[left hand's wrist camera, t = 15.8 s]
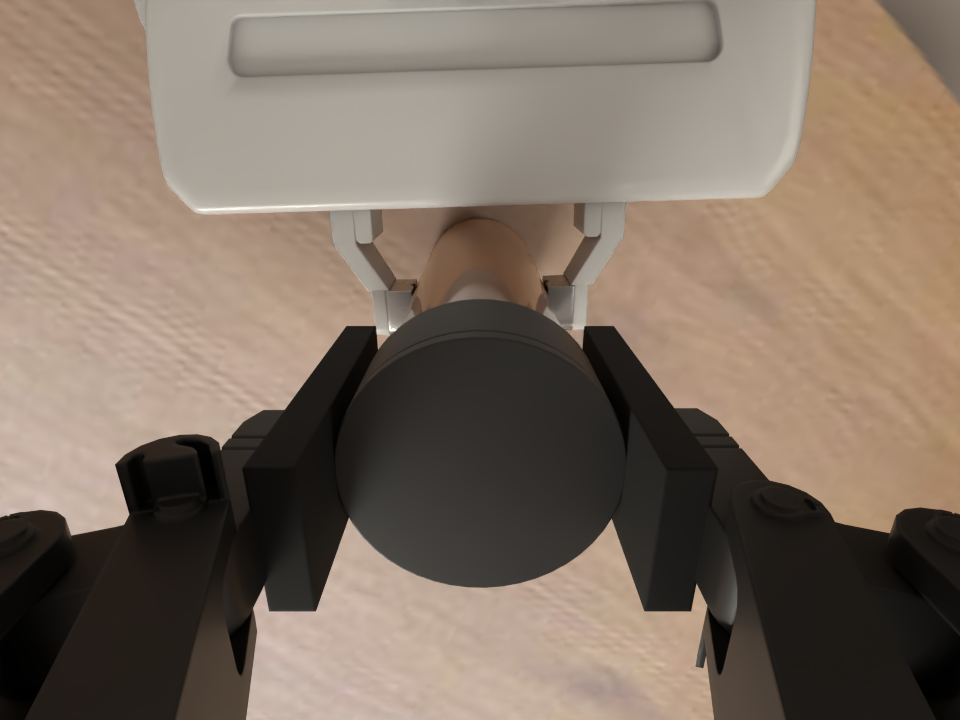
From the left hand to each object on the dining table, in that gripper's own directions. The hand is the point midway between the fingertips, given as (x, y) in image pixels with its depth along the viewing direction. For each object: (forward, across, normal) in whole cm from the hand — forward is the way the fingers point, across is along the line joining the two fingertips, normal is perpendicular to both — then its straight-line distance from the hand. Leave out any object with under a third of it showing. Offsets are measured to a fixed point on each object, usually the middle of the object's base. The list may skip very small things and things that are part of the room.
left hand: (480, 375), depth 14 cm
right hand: (+7, 0, -1) cm, 7 cm away
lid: (-4, 0, 0) cm, 4 cm away
